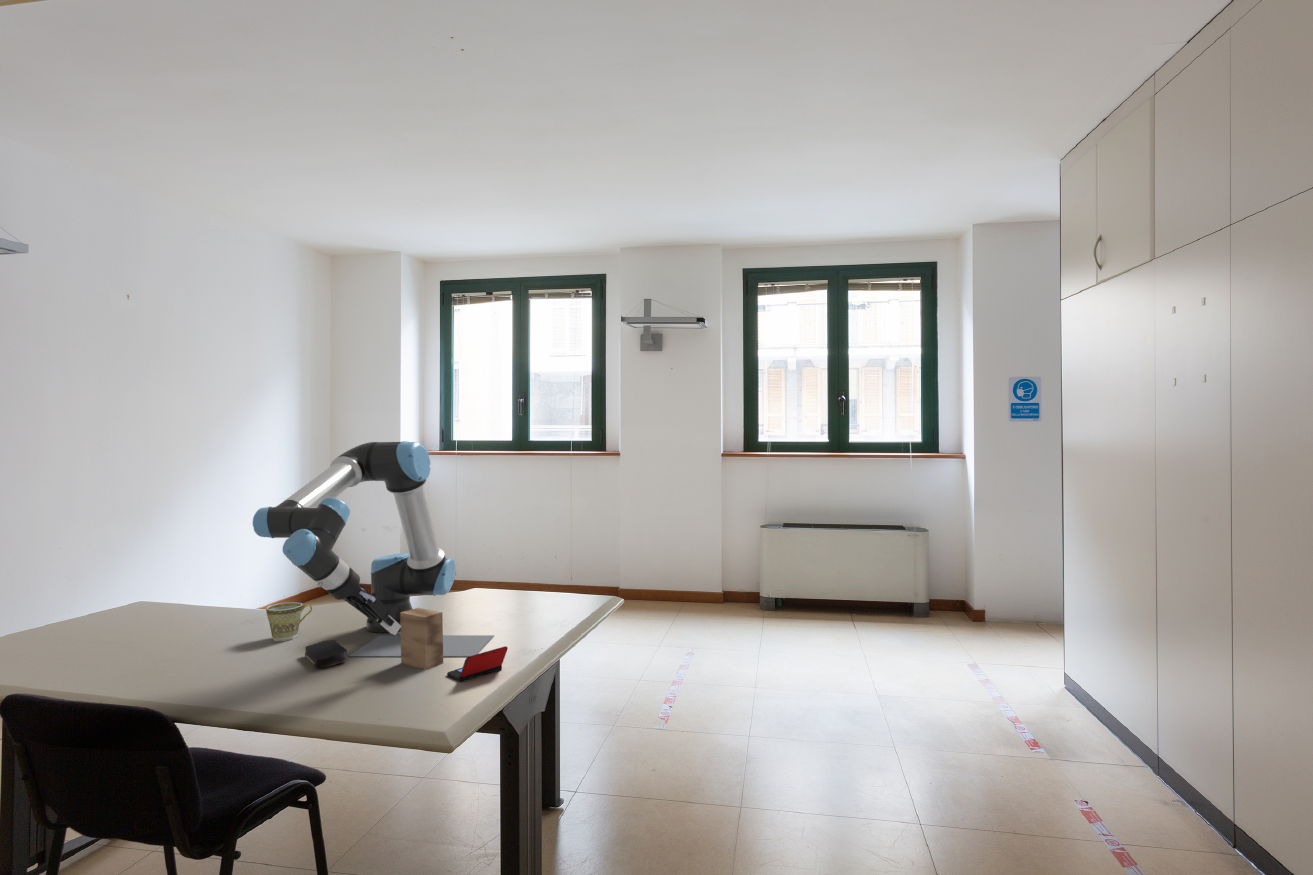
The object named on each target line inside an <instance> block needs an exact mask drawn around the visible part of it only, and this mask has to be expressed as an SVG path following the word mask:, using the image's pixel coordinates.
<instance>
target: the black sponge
mask: <svg viewBox="0 0 1313 875" xmlns="http://www.w3.org/2000/svg"><path fill="white" fill-rule="evenodd" d="M304 657H305V658H306V659H308V660H309V661H310V662H311V663H312V664H313V667H314V668H315V669H318V670H319V669H323V668H327V667H331V666H335V665H338V664H341V663H344V662H345V663H346V662H347V660H348V659H349V658H348V657H349V656H348V650H347V649H346V648H345V647H344V646H342V645H340V643H339V642H337V640H335V639H329V640H324V641H323V640H322V641H320V642H316V643H314V644H310V645H307V646H306V647H305V652H304Z"/></svg>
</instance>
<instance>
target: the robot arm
mask: <svg viewBox="0 0 1313 875" xmlns="http://www.w3.org/2000/svg"><path fill="white" fill-rule="evenodd" d="M430 466H431V459H430V455H429V453H428V451H427V449H426V448H425V446H423V445H422V444H421V443H419V442H416V441H409V440H408V441H407V440H404V441H403V440H402V441H369V442H365V443H362V444H359V445H357V446H355V447H352V448H350V449H348V450H347V451H344V452H343V453H341V454H339V455H338V456H337V457H336V458H334V459H333V460H332V461H331V463H330V465H329V467H328V468H327V469H324V471H323V472H321V473H320V474H319V475H317V476H316V477H314V478H312V480H310V481H309V482H308V483H306V484H305V485H304V486H302V487H301V488H300V489H298V490H297V491H295V492H294V493H292V494H291V495H290V496H289V497H287V498H286V499H285V500H283V501H282V502H281V503H279V504H278V505H276V506H274V507H273V506H267V507H260V508H259V509H257V511H255V513H254V515H253V518H252V527H253V532H254V533H255V534H256V535H257V536H259V537H261V538H270V539H279V538H282V539H285V541H284V543H283V545H282V553H283V555H284V556H285V557H286V558H287V559H288V560H289V561H290V562H291V563H292V565H293V566H295V567H297V568H298V569H299V570H301V571H302V572H303V573H304V574H305V575H307V576H308V577H309V578H310V579H312V580H313V581H314V582H315V583H317V584H316V587H318V588H322V589H324V590H325V591H326V592H327V593H328V594H329V595H330V596H331V597H333V598H334V599H335V600H340V601H342V600H343V601H345V602H346V603H348V604H349V605H350V606H352V607H353V608H354V609H356V610H357V611H358V612H360V613H362V614H363V615H364V616H365V617H367V619H366V624H365V625H366V628H365V629H366V630H367V631H368V632H372V633H389V634H391V635H398V634H397V633H398V632H399V631H400V632H401V625H400V612H404V611H408V610H411V609H414V607H413V606H412V603H411V600H410V599H411V596H433V597H436V596H444V595H446V594H448V593H449V591H451V588H452V587H453V584H454V580H455V576H456V564H455V561H454V559H452V558H449V557H448V558H446V554H445V551H444V550H443V549H442V548H441V547H438V543H437V539H436V534H435V531H434V526H433V523H432V519H431V515H430V510H429V506H428V503H427V498H426V495H425V490H424V487H423V486H424V485H425V484H426V482H427V479H428V477H429V476H430V473H431V467H430ZM374 481H375V482H384V484H385V487H386V490H387V491H388V492H389V493H391V494H393V496H394V500H395V504H396V507H397V508H396V509H397V511H398V515H399V518H400V523H401V526H402V529H403V533H404V537H405V541H406V544H407V548H408V552H409V553H407V552H400V553H393V554H388V555H384V556H380V557H377V558H374V560H372V562H371V566H370V584H371V588H370V589H371V593H369V592H368V591H367V589H366V588H365V587H364V586H362V585H361V586H360V584H361V583H360V582H361V577H360V575H359V574H358V573H357V572H356V571H355V570H353V569H352V568H351V567H350V566H349V564H348V563H346V562H345V561H344V560H343V559H342V558H341V557H340V556H338V555H337V554H336V553H335V552H334V551H333V548H334V546H335V544H336V543H337V541H338V539H339V537H340V535H341V533H342V532H343V529H344V528H345V527H346V524H347V521H348V518H349V516H350V515H351V514H350V513H351V509H350V508H349V506H348V504H347V503H346V502H344V500H342V499H339V498H337V497H338V496H340V494H342V493H343V492H344V491H345V490H347V489H348V488H353V487H356V486H357V485H359V484H360V483H363V482H374Z"/></svg>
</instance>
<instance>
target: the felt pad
mask: <svg viewBox="0 0 1313 875" xmlns="http://www.w3.org/2000/svg"><path fill="white" fill-rule="evenodd" d="M494 637H495V635H494V634H493V635H492V634H491V635H487V634H485V635H483V634H482V635H481V634H480V635H478V634H477V635H476V634H475V635H471V634H470V635H469V634H468V635H467V634H466V635H465V634H462V635H459V634H457V635H455V634H454V635H453V634H452V635H450V634H447V635H444V634H443V658H467V657H469V656H472V655H476V654H480V653H481V651H482V650H483V649H484V648H485V647H486V646H487V645H488V644H489V643H490V641H491V640H492V639H494ZM348 657H349V658H401V634H399V635H398V634H396V635H393V634H391V635H389V634H388V635H387V634H386V635H385V634H383V635H381V634H380V635H378V636H377V637H375V638H373V639H372V640H371V641H369V642H367V643H366V644H365V645H363V646H362V647H360V648H358V649H356V651H354V652H353V653H352V654H350V655H349V656H348Z"/></svg>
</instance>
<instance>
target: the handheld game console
mask: <svg viewBox="0 0 1313 875" xmlns="http://www.w3.org/2000/svg"><path fill="white" fill-rule="evenodd" d="M508 649H509V648H508V647H507V646H506V645H504V646H501V647H498V648H494V649H491V650H487V651H484V652H479V653H478V654H476V655H472V656H469V657H465V659H464V662H463V666H462V667H460V668H457V669H456V668H455V669H454V670H450V671H448V672H447V673H446V676H447V677H448V678H450V679H453V680H455V681H457V682H459V683H464V682H466V681H470V680H473V679H477V678H478V677H481V676H486V675H490V674H494V673H497V672H500V671H502V669H503V666H502V665H503V664H504V660H505V658H506V655H507V652H508Z"/></svg>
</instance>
